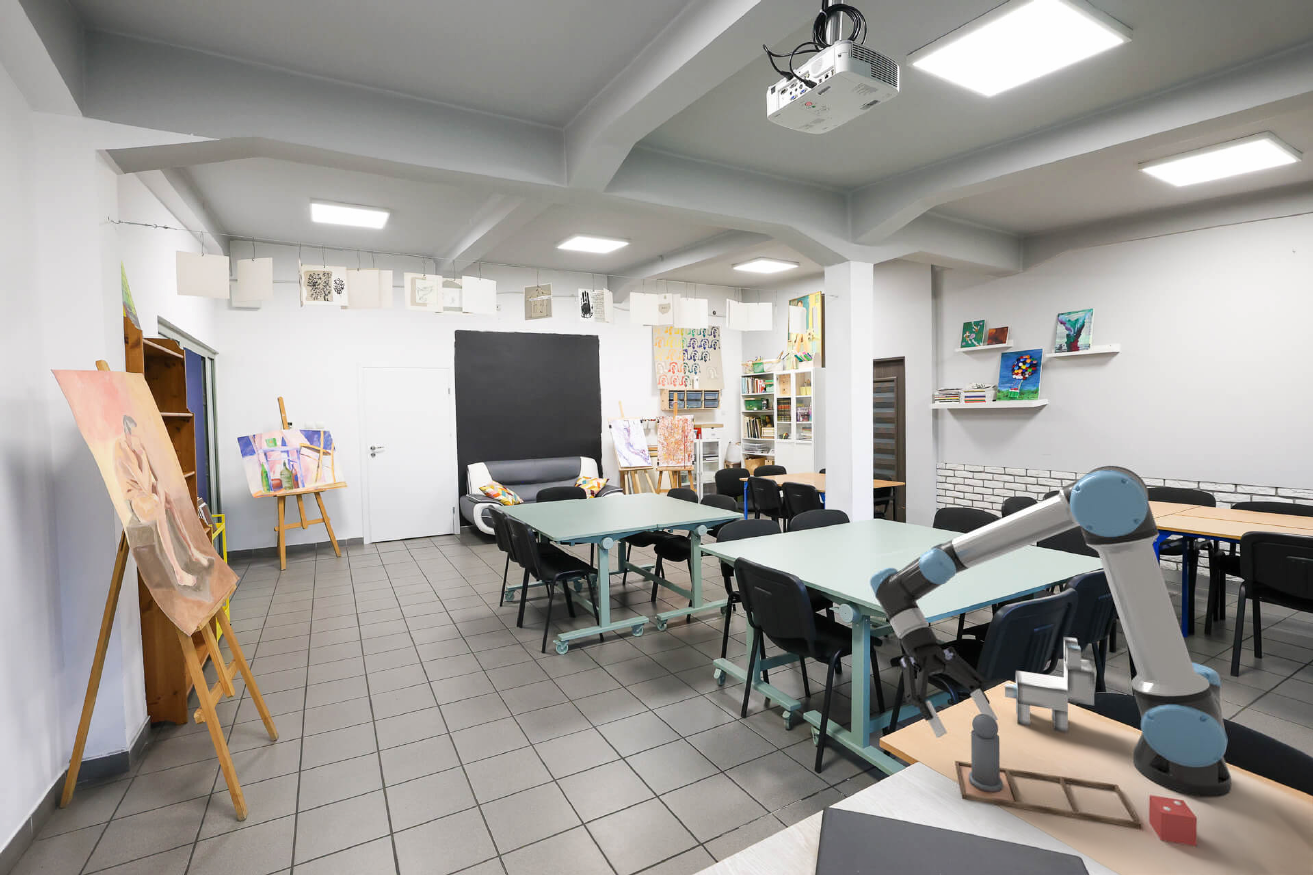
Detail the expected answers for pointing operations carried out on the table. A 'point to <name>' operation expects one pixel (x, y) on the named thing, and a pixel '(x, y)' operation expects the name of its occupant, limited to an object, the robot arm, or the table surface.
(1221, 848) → the table surface
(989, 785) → the pawn
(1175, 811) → the red die
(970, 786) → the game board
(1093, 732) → the table surface
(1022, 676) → the toy llama
